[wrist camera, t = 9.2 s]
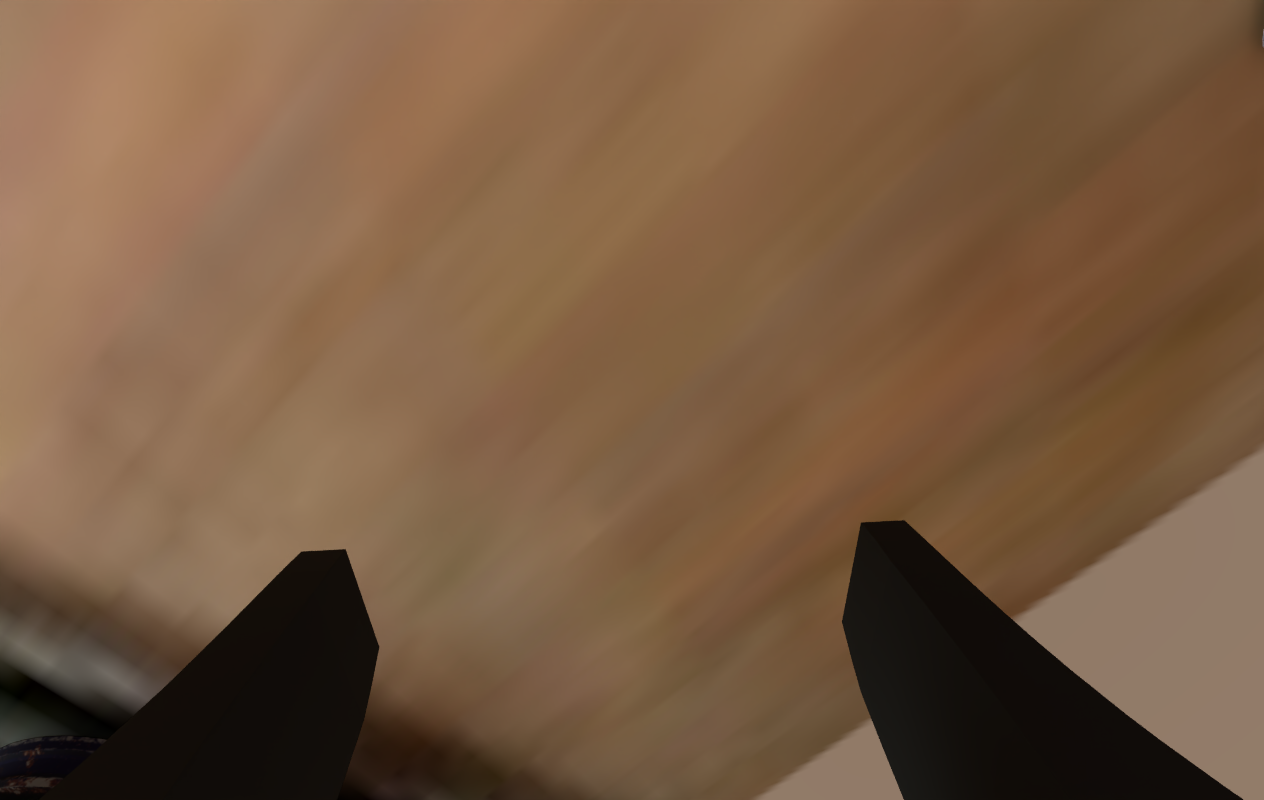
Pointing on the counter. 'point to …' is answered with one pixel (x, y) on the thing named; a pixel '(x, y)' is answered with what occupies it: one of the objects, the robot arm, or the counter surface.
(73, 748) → the storage jar
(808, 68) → the counter surface
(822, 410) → the counter surface
